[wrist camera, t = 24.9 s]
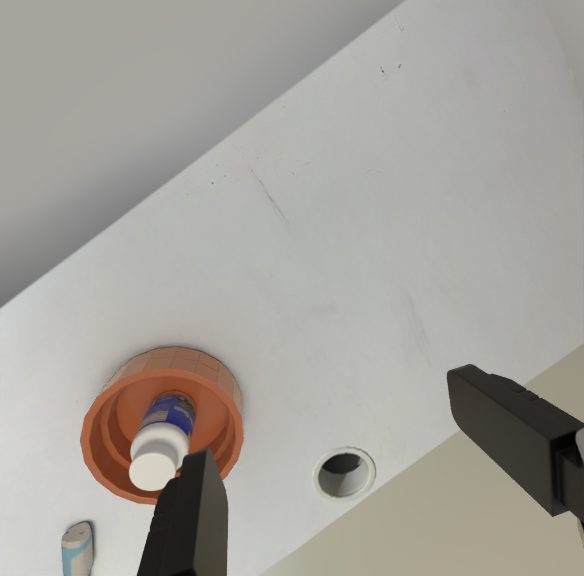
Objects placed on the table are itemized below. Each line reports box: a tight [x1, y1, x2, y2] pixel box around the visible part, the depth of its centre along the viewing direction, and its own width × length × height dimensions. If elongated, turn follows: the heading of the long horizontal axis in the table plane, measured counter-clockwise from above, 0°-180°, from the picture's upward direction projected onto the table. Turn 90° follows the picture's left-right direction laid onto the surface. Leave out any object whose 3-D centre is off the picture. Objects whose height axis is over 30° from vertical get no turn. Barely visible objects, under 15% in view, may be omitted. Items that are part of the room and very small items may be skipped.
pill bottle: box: [129, 391, 196, 491], centre depth 34 cm, size 5×5×10 cm
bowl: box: [80, 347, 243, 505], centre depth 36 cm, size 16×16×6 cm
